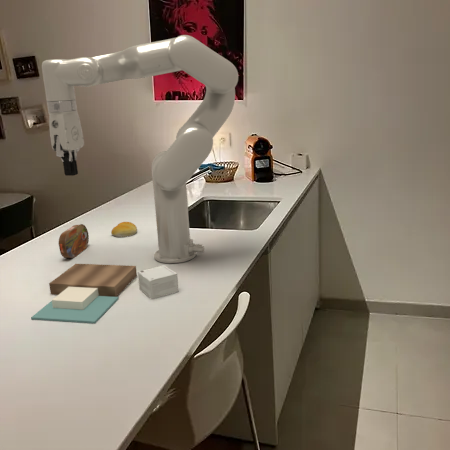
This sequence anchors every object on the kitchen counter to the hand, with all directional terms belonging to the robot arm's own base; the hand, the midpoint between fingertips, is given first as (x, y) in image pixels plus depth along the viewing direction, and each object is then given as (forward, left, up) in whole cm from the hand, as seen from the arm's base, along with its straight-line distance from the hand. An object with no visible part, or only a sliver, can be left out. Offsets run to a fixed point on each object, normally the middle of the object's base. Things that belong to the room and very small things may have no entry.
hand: (71, 174), depth 143 cm
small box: (-28, +14, -28) cm, 42 cm away
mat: (-12, +27, -27) cm, 40 cm away
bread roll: (0, -31, -28) cm, 41 cm away
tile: (-10, +24, -27) cm, 37 cm away
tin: (+8, -10, -27) cm, 30 cm away
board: (-10, +13, -27) cm, 32 cm away
